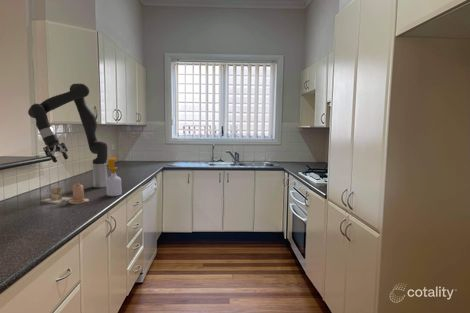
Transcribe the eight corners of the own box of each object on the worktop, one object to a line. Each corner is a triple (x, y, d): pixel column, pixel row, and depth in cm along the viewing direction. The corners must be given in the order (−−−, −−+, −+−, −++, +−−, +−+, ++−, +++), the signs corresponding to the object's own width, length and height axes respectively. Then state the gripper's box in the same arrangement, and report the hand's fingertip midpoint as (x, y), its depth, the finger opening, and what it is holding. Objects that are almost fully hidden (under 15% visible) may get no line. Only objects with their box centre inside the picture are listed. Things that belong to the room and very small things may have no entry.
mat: (77, 198, 187) (77, 197, 187) (93, 199, 185) (93, 199, 185) (63, 203, 177) (63, 202, 177) (79, 204, 174) (79, 203, 174)
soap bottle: (124, 193, 203) (122, 156, 200) (117, 196, 194) (116, 158, 191) (111, 193, 204) (109, 156, 201) (104, 196, 195) (102, 158, 192)
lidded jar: (78, 198, 185) (77, 182, 183) (87, 199, 183) (86, 183, 182) (70, 201, 178) (69, 184, 177) (79, 202, 177) (78, 185, 176)
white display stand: (56, 197, 189) (55, 185, 189) (72, 199, 187) (72, 186, 186) (39, 202, 178) (39, 189, 177) (56, 203, 175) (56, 190, 174)
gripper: (43, 135, 176) (56, 161, 178) (62, 132, 189) (74, 155, 191) (34, 140, 178) (47, 165, 180) (54, 136, 191) (65, 160, 193)
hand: (61, 160), depth 185 cm, fingers open, 8 cm apart
